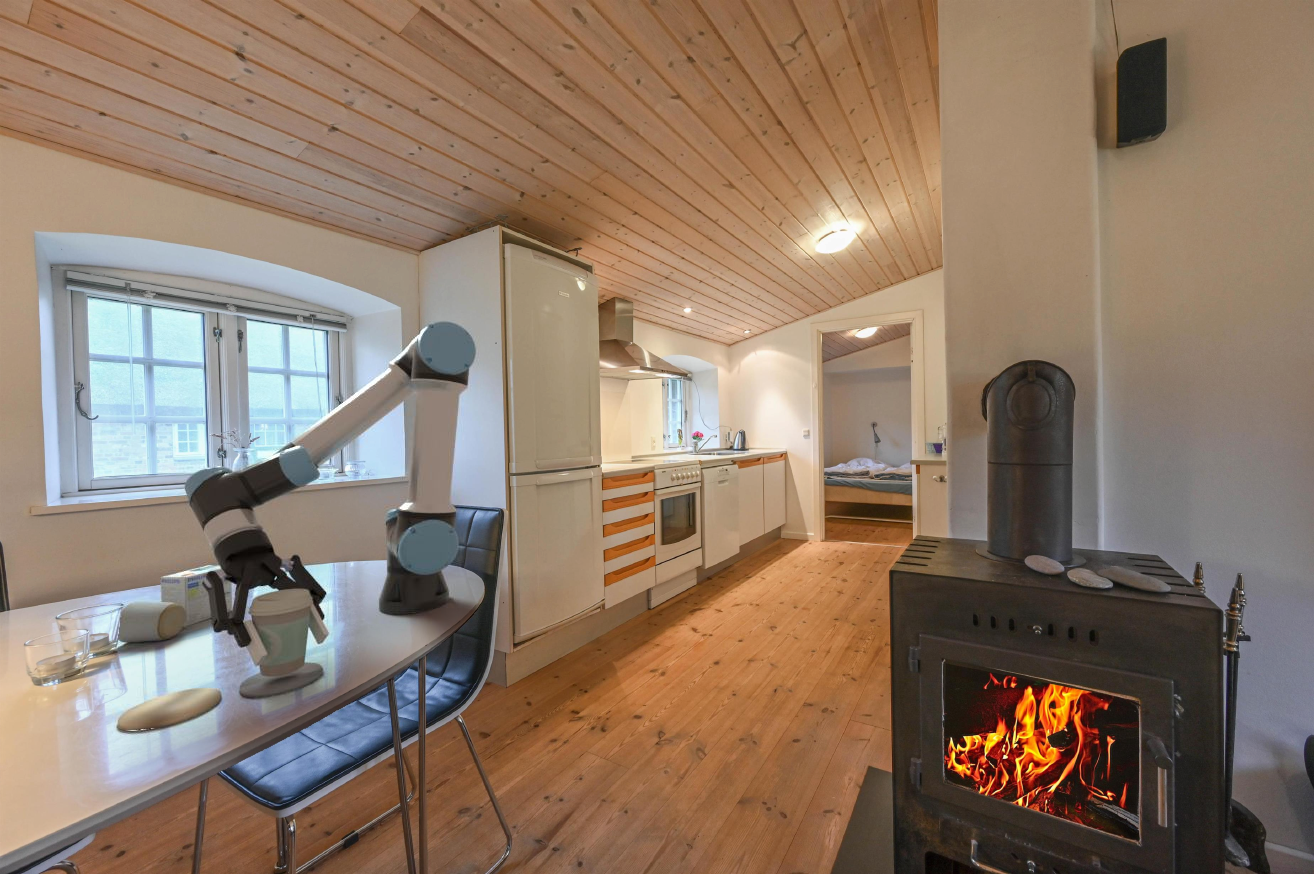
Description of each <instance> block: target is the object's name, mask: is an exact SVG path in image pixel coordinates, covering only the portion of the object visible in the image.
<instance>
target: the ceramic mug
mask: <svg viewBox="0 0 1314 874" xmlns="http://www.w3.org/2000/svg"><path fill="white" fill-rule="evenodd" d="M121 610H122V612H121V611H120V612H121V617H120V627H119V634H118V639H117V640H118V641H119V642H121V643H141V642H155V641H156V642H158V641H165V640H169V639H172V638H173V637H175V636H176V635H177V634H178V633H180V631H181V630H182V629H186V628H187V627H188V626H187V623H188V620H185V618H186V613H185V609H184V608H183V606H181V605H180V604H177V603H172V602H161V601H158V602H157V601H133V602H130V603H128V604H127V605H126V606H124V607H123V608H122V609H121ZM186 626H187V627H186Z"/></svg>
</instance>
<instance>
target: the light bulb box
mask: <svg viewBox="0 0 1314 874" xmlns="http://www.w3.org/2000/svg"><path fill="white" fill-rule="evenodd" d="M209 571H215V572H220V571H222V569H221V567H220V565H219V564H217V565H212V564H211V565H210V564H208V565H205V566H200V567H197V568H192V569H188V570H185V571H180V572H177V573H173V574H169V575H164V576H161V577H160V602H172V603H177V604H180V605H181V606H183V608H184V609H185V613H186V618H185V620H188V623H187V626H186V628H187V627H188V626H191V625H194V624H198V623H201V622H203V621H206V620H209V619H212V617H211V610H210V602H209V595H208V592H207V590H206V589H205V588H204V586H203V585H202V582H203V580H204V579H205V577H206V575H207V573H208V572H209ZM232 584H233V583H232V582H229V581H227V580H225V579H224V581H223V586H224V593H225V599H226V606H227V612H228V613H230V612H232V610H233V599H232V598H233V596H232V595H233V594H232V593H233V591H232V589H233V588H232Z"/></svg>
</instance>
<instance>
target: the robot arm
mask: <svg viewBox="0 0 1314 874" xmlns="http://www.w3.org/2000/svg"><path fill="white" fill-rule="evenodd" d="M476 353H477V349H476V344H475V341H474V339H473V336H471V334H470V333H469V331H467V330H466V329H465V328H464V327H462V326H461V325H459V324H457V323H455V322H451V321H446V320H443V321H435V322H433V323H430V324H427V325H426V326H424V327H423V328H422V329H421V330H420V332H419V333H418V334H417V335H416V336H415V337H414V338H413V339H412V341H411V342H410V343H409V344H408V345H407V347H405V349H404V350H403V351H402V352H401V353H400V354H399V355H398V356H397V357H395V358H394V359H393V360H391V361H390V362H389V363H388V369H387V370H386V371H384V372H383V373H382V374H380V375H379V376H377V377H376V378H375V379H374V380H373V381H371V382H369V383H368V384H367V385H366V386H364V387H363V388H361V389H360V390H359V391H357V392H356V393H355V394H354V395H352V396H350V397H349V398H348V399H347V400H345V401H344V402H343V403H341V404H340V405H338V406H337V407H336V408H335V409H333V410H332V411H330V412H329V413H328V414H327V415H325V416H324V417H322V418H321V419H319V420H318V421H317V422H316V423H315V424H313V425H311V426H310V427H309V428H308V429H306V430H305V431H304V432H302V433H301V434H299V435H298V436H297V437H296V438H294V439H293V440H291V441H290V442H289V443H287V444H285V446H283V447H282V448H281V449H279V450H278V451H277V452H275V453H274V454H272V455H271V456H268V457H266V458H264V459H262V460H258V461H257V462H255V463H252V464H249V465H248V466H245V467H243V468H239V469H237V470H234V471H233V470H232V469H230V468H229V467H225V466H219V465H217V466H216V465H215V466H214V467H206V468H203V469H199V470H198V471H196V472H194V473H192V474H191V475H190V476H189V477H188V478H187V479H186V481H185V483H184V491H185V494H186V496H187V499H188V504H189V506H190V508H191V509H192V512H193V513H194V515H195V517H196V519H197V521H198V523H199V525H200V527H201V529H202V532H203V533H204V536H205V537H206V538H205V539H206V540H207V542H208V543H209V546H210V548H211V550H212V551H213V555H214V557H215V559H216V562H218V565H220V567H221V569H222V571H220V572H215V571H209V572H208V573H207V575H206V577H205V579H204V580H203V582H202V585H203V586H204V588H205V589H206V590H207V592H208V595H209V602H210V610H211V617H212V618H211V623H212V630H213V632H214V633H217V634H220V633H222V632H223V631H224V632H225V631H226V633H227V634H228V635H229V636H233V637H234V639H235V641H236V644H237V646H238V647H239V648H241V649H242V648H246V649H247V652H248V654H249V656H250V658H251V660H252V662H253V665H254V667H258V666H259V665H261V664H262V662H263V661H264V659H265V658H266V656H267V652H266V650H265V648H264V646H263V644H262V642H261V639H260V637H259V635H258V633H257V631H256V629H255V627H254V625H253V623H252V619H249V620H246V621H245V616H246V610H247V609H246V608H247V605H248V597H249V591H250V590H254V589H257V588H258V587H267V586H268V587H269V588H271V589H272V590H276V591H280V590H286V589H307V590H309V592H310V595H311V597H312V601H313V603H312V604H311V610H310V619H309V628H308V629H309V630H310V632H311V634H312V636H313V637H314V638H313V639H314V640H315V642H316V643H317V645H321V644H323V643H324V642H325V640H326V639H327V637H328V636H329V634H330V632H329V630H328V628H327V626H326V624H325V623H324V620H325V618H326V617H325V616H326V615H325V613H324V612H323V610H322V609H323V608H321V605H320V604H322V602H323V600H324V599H325V598H326V596H327V594H328V593H327V591H326V590H325V589H324V588H323V586H321V584H320V583H319V582H318V581H317V580H316V579H315V578H314V577H313V575H312V574H311V573H310V572H309V570H308V569H307V568H306V567H305V566H304V565H303V563H302V560H301V557H300V555H298V554H293V555H292V556H291V558H281V557H280V556H279V555H277V554H276V553H275V550H274V547H273V544H272V541H271V540H270V538H269V536H268V535H267V533H266V532H265V529H264V526H263V525H262V523H261V521H260V520H259V517H258V516H257V514H256V511H255V510H254V509H256V508H257V507H259V506H262V505H264V504H266V503H268V502H271V501H273V500H275V499H278V498H280V497H282V496H284V495H286V494H289V493H291V492H293V491H296V490H298V489H300V488H304V487H306V486H308V485H309V484H311V483H312V482H315V481H317V480H318V479H319V478H320V476H321V473H320V471H319V468H320V467H321V466H322V465H324V464H325V463H327V461H329V460H330V459H331V458H333V457H334V456H335V455H337V454H338V453H340V451H341V450H343V449H344V448H346V447H347V446H348V445H350V444H351V443H352V442H353V441H355V440H356V439H357V438H359V437H360V436H361V435H363V434H364V433H365V432H367V430H369V429H370V428H371V427H372V426H374V425H375V424H377V423H378V422H379V421H380V420H382V419H383V418H384V417H385V416H386V415H387V416H388V414H389V413H391V412H392V411H394V410H395V409H396V408H397V407H398V406H399V405H401V404H402V403H403V402H405V401H406V400H407V399H409V398H410V397H411V396H414V395H415V396H416V404H415V405H416V406H415V415H414V425H413V426H414V427H413V436H412V447H411V455H410V456H411V457H410V468H409V477H408V487H407V488H408V489H407V499H406V501H405V502H404V503H403V504H402V505H400V506H399V507H398V508H394V509H393V508H392V509H390V510H388V511H387V512H386V517H385V522H384V524H385V526H386V527H385V529H386V531H385V532H386V533H385V534H386V577H385V579H384V583H383V586H382V589H381V592H380V594H379V598H378V599H379V600H378V610H379V611H380V612H382V613H384V612H385V614H392V615H400V614H401V615H402V614H403V615H404V614H405V613H406V614H412V613H413V612H415V613H420V611H421V612H425V610H426V611H430V610H432V608H433V609H436V608H439V607H442V606H443V604H444V603H445V604H447V603H448V602H449V601H450V590H449V587H448V584H447V581H446V579H445V578H446V577H445V576H444V573H443V572H442V571H443V570H444V569H446V568H447V567H448V566H450V565H451V563H452V562H453V561H454V560H455V559H456V557H457V553H458V551H459V544H460V543H459V536H458V533H457V531H456V519H457V508H456V507H455V506H454V505H453V504H452V503H451V494H452V493H451V492H452V481H453V471H454V460H455V450H456V449H455V448H456V438H457V437H456V436H457V427H458V416H459V404H460V395H461V394H462V393H463V392H465V391H466V390H467V389H468V385H469V375H470V368H471V367H472V366H473V364H474V362H475V359H476V355H477V354H476ZM282 568H284V570H283V569H282ZM288 574H289V575H290V577H291V578H290V577H289V575H288ZM224 579H225V580H227V581H229V582H231V584H234V585H235V590H234V600H233V603H232V611H231V616H230V617H229V612H227V606H226V599H225V593H224V586H223V581H224ZM448 600H449V601H448ZM447 601H448V602H447ZM446 602H447V603H446ZM445 604H444V605H445ZM441 605H442V606H441ZM438 606H439V607H438ZM435 607H436V608H435ZM429 609H430V610H429ZM244 621H245V622H244Z"/></svg>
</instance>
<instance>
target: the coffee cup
mask: <svg viewBox="0 0 1314 874" xmlns="http://www.w3.org/2000/svg"><path fill="white" fill-rule="evenodd" d="M312 603H313V601H312V597H311V595H310V592H309V590H307V589H286V590H280V591H279V590H275V591H271V592H266V593H263V594H260V595H257V596H255V597H254V598H253V599H252V601H251V605H250V606H249V608H248V609H249V611H248V615H250V616H251V621H252V623H253V625H254V627H255V629H256V631H257V633H258V635H259V637H260V639H261V642H262V644H263V646H264V648H265V650H266V652H267V656H266V658H265V659H264V661H263V662H262V664H261V665H258V666H259V673H261V675H262V676H267V677H272V676H280V675H284V674H288V673H291V672H294V671H296V670H298V669H300V668H301V667H303V666H304V663H305V660H306V652H307V645H308V638H309V637H308V636H309V635H308V634H309V629H310V628H309V619H310V610H311V604H312Z"/></svg>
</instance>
